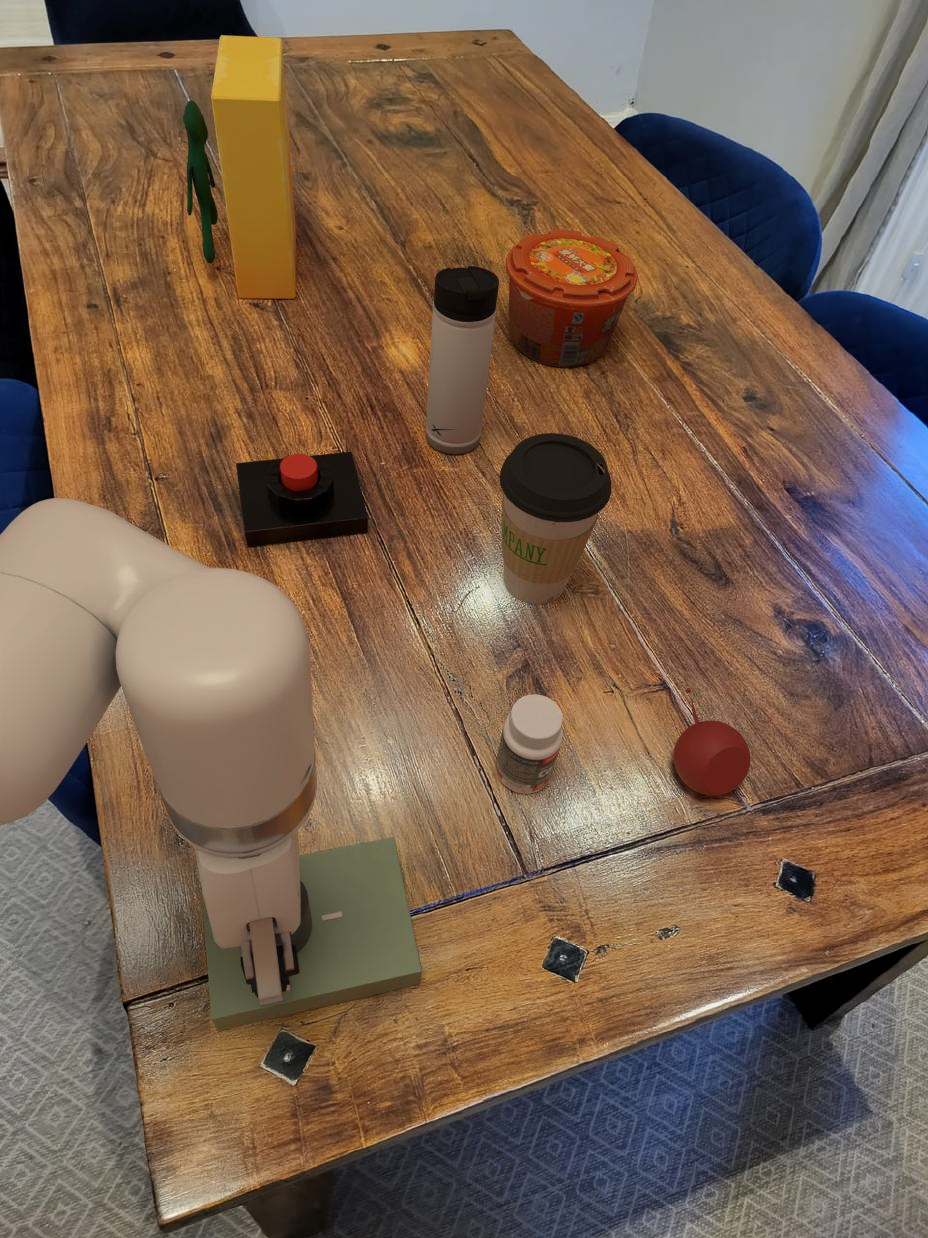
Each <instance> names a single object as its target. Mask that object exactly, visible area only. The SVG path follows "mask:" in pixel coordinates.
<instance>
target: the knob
mask: <svg viewBox="0 0 928 1238" xmlns="http://www.w3.org/2000/svg"><path fill="white" fill-rule="evenodd" d="M300 898H301V922H300V925H299V927H298V928H297V930H296V931H295V932H294V933H293V934H291V931H290V938H291V944H294V946H295V945H296V949H297V952H299V951H300V950H301V949H302V948H303V947H304V946H305V944H306V943H307V941H308V939H309V937H310V935H311V931H312V918H311V911H310V905H309V899H308V893H307V890H306V887H305V885H304V884H303V882H302V881H301V880H300ZM275 940H276V946H280V945H282V941H281V934H280V935H275ZM251 944H252V941H251Z"/></svg>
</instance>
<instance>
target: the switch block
mask: <svg viewBox="0 0 928 1238" xmlns="http://www.w3.org/2000/svg"><path fill="white" fill-rule="evenodd" d="M287 456H288V455H287ZM287 456H284V457H282V458H274V459H264V460H253V461H244V462H236V463H235V466H236V473H237V474H236V475H237V482H238V489H239V490H238V491H239V497H240V505H241V512H242V514H241V515H242V521H243V529H244V535H245V536H244V537H245V541H246V547H247V548H254V547H262V546H269V545H277V544H285V543H286V544H287V543H288V544H289V543H294V542H303V541H312V540H319V539H320V540H321V539H330V538H337V537H346V536H353V535H362V534H368V533H369V516H368V512H367V507H366V505H365V500H364V497H363V492H362V487H361V485H360V480H359V476H358V471H357V468H356V464H355V458H354V456H353V453H352V451H343V452H333V453H332V452H331V453H322V454H314V455H309V456H310V457H312V458H313V459H314V460H315V461H316V463H317V471H318V481H317V483H316V485H315V486H314V487H312V488H311V489H309V490H306V491H293V490H290V489H288V488H286V487H285V486H284V485H283V483H282V480H281V472H280V464H281V462H282V460H283V459H284V458H286V457H287Z"/></svg>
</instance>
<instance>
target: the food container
mask: <svg viewBox="0 0 928 1238" xmlns="http://www.w3.org/2000/svg"><path fill="white" fill-rule="evenodd" d="M505 270H506V274H507V276H508V280H509V281H508V333H509V338H510V340H511V342H512V344H513V345H514V346H515V348H517V349H518V351H520V352H521V353H523V354H524V355H525V356H526V357H528V358H530V359H531V360H534V361H535V362H538V363H540V364H544V365H547V366H548V365H549V366H553V367H558V368H572V367H579V366H586V365H588V364H591V363H594V362H595V361H597V360H599V359H601V357H602V356H604V354H605V353H606V351H607V349H608V347H609V344H610V342H611V339H612V337H613V334H614V332H615V329H616V327H617V324H618V322H619V319H620V316H621V314H622V312H623V309H624V308H625V307H624V306H625V304H626V302H627V299H628V297H629V296H630V295H631V294H632V293H633V292H634V291H635V289H636V287H637V285H638V281H639V279H638V278H639V277H638V270H637V268H636V266H635V265H634V263H633V261H632V259H631V258H630V256H629V255H627V254H625V253H623V252H622V251H621V250H620V248H619V246H618V245H617V244H615V243H613V242H612V241H609V240H608V239H605V238H604V237H601V236H599V235H595V234H592V235H590V236H585V235H583V233H582V231H578V230H570V229H551V230H549V231H548V233H541V234H540V233H538V232H534V233H532V234H531V233H530V234H529V235H527V236H525V237H524V238H522V239H521V240H519V241H518V242H517V243H516V244H515V245H513V246H512V248H511V249H509V251H508V253H507V256H506V258H505Z"/></svg>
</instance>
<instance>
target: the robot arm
mask: <svg viewBox="0 0 928 1238" xmlns="http://www.w3.org/2000/svg"><path fill="white" fill-rule="evenodd" d="M310 651H311V650H310V643H309V637H308V631H307V627H306V623H305V621H304V619H303V617H302V615H301V613H300V611H299V609H298V607H297V606H296V604H295V603H294V602H293V601H292V599H291V598H290V597H289V596H288V594H287V593H286V592H284V591H283V590H282V589H281V588H280V587H278V585H276V584H274V583H273V582H271V581H269V580H267V579H266V578H263V577H261V576H259V575H256V574H254V573H251V572H249V571H245V570H240V569H236V568H227V567H211V566H208V565H206V564H205V563H202V562H201V561H199V560H197V559H195V558H193V557H191V556H189V555H188V554H185V553H183V552H182V551H179V550H178V549H176V548H174V547H173V546H171V545H169V544H168V543H166V542H164V541H162V540H160V539H159V538H157V537H155V536H153V535H152V534H151V533H148V532H147V531H146V530H144V529H141V527H140V528H139V526H136V525H134V524H133V523H131V522H129V521H127V520H125V519H124V518H123V517H121V516H119V515H118V514H117V513H115V512H113V511H111V510H109V509H106V508H104V507H100V506H97V505H94V504H91V503H89V502H84V501H81V500H78V499H74V498H73V499H72V498H65V497H53V498H47V499H44V500H43V499H42V500H40V501H37V502H35V503H34V504H32V505H30V506H28V507H27V508H26V509H24V510H22V512H20V513H19V514H18V515H17V516H16V517H15V518H14V519H13V520H11V522H10V523H9V524H8V525H7V526H6V528H5V529H4V530H3V531H2V532H1V533H0V826H5V825H8V824H11V823H13V822H16V821H18V820H21V819H23V818H25V817H27V816H28V815H30V814H31V813H33V812H35V811H36V810H37V809H39V808H40V807H41V806H42V805H43V804H44V803H45V802H46V801H47V800H48V799H49V798H50V797H51V796H52V795H53V794H54V792H55V791H56V790H57V789H58V787H59V786H60V784H61V783H62V782H63V780H64V779H65V777H66V775H67V774H68V772H69V771H70V769H71V768H72V766H73V765H74V763H75V762H76V760H77V758H78V757H79V756H80V754H81V752H82V751H83V749H84V748H85V746H86V745H87V743H88V741H89V739H90V738H91V737H92V735H93V733H94V732H95V730H96V728H97V726H98V725H99V723H100V722H101V720H102V718H103V717H104V716H105V714H106V712H107V710H108V708H109V707H110V705H111V703H112V702H113V700H114V698H116V696H117V694H118V692H119V690H120V689H121V690H122V693H123V695H124V698H125V701H126V704H127V706H128V709H129V712H130V714H131V717H132V720H133V723H134V726H135V728H136V729H135V730H136V731H137V734H138V737H139V740H140V743H141V745H142V749H143V751H144V753H145V757H146V760H147V763H148V764H149V767H150V770H151V773H152V775H153V778H154V781H155V783H156V786H157V788H158V793H159V794H160V797H161V799H162V802H163V805H164V807H165V811H166V814H167V815H168V819H169V821H170V823H171V825H172V827H173V828H174V830H175V831H176V833H177V834H178V835H179V836H180V837H181V838H182V839H183V840H184V841H185V842H186V843H187V844H189V845H191V846H192V847H193V850H194V854H195V860H196V861H195V862H196V866H197V872H198V877H199V880H200V888H201V892H202V897H203V896H204V901H205V905H206V909H207V913H208V917H209V921H210V925H211V929H212V933H213V938H214V941H215V943H216V944H217V945H218V946H219V947H221V948H232V947H238V946H240V945H241V949H242V956H243V957H240V960H241V967H242V971H243V974H244V977H245V980H246V983H247V984H251V988H252V993H254V992H255V995H256V997H257V998H258V999H259V1006H264V1005H269V1004H273V1003H278V1002H282V1001H283V993H282V992H285V991H287V990H286V988H287V985H290V982H289V976H293V975H297V974H299V973H300V971H299V963H298V956H297V949H296V945H295V946H294V944H291V938H290V931H291V934H293V933H294V932H295V931H296V930H297V928H298V927H299V925H300V922H301V898H300V864H299V855H300V847H299V830H300V828H301V827H302V826H303V825H304V823H305V822H306V821H307V819H308V818H309V815H310V814H311V812H312V810H313V807H314V804H315V801H316V798H317V790H318V775H317V774H318V773H317V757H316V756H317V755H316V740H315V739H316V738H315V725H314V724H315V723H314V721H315V720H314V709H313V708H314V704H313V687H312V671H311V670H312V669H311V652H310ZM280 934H281V941H282V945H280V946H276V940H275V935H280ZM251 941H252V944H251ZM252 949H253V951H252Z"/></svg>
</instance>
